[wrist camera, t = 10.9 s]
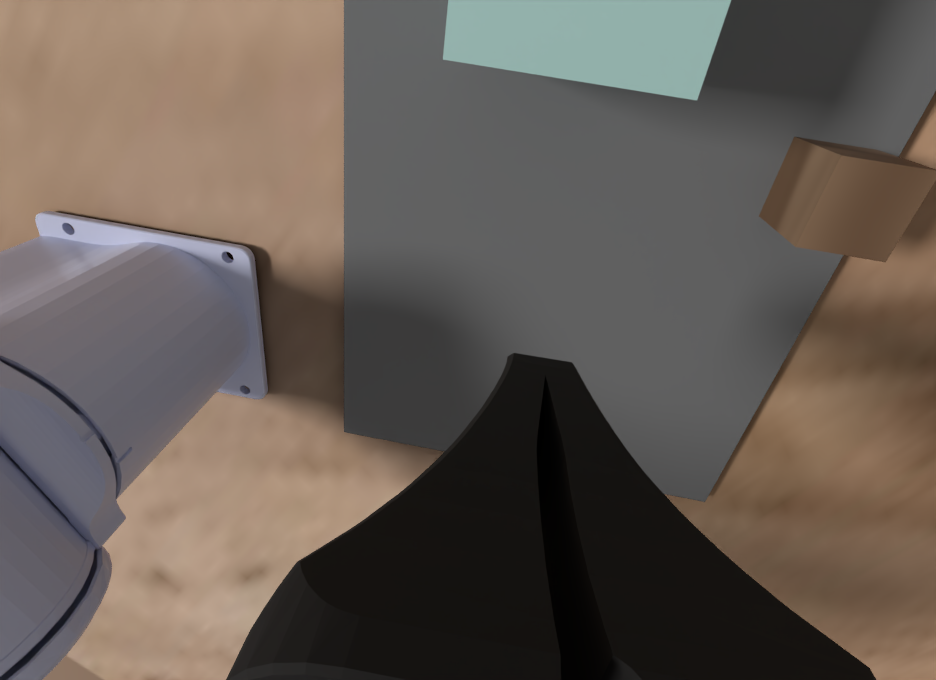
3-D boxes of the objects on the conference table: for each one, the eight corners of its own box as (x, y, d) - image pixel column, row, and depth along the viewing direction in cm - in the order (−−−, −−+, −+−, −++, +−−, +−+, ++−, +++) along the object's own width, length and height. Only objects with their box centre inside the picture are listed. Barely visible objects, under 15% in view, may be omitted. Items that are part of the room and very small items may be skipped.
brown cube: (758, 216, 17) (795, 246, 15) (794, 136, 16) (841, 155, 13) (835, 228, 17) (885, 262, 15) (878, 149, 16) (940, 171, 13)
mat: (348, 424, 26) (344, 432, 25) (351, -270, 13) (343, -284, 13) (701, 492, 25) (704, 501, 24) (1069, -178, 12) (1092, -188, 12)
